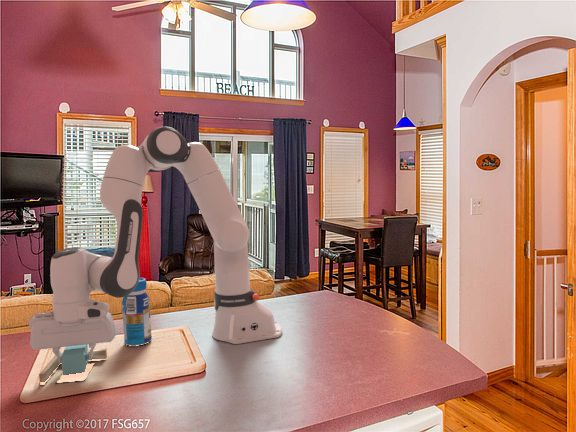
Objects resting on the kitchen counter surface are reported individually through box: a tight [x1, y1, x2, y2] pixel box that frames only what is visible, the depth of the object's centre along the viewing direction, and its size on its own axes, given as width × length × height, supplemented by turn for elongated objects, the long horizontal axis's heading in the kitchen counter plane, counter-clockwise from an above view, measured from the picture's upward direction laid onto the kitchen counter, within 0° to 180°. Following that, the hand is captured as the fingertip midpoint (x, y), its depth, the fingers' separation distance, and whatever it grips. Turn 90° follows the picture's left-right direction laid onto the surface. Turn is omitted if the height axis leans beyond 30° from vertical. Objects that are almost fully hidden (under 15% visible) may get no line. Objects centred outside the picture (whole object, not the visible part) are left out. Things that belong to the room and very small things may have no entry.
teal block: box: [61, 344, 89, 375], centre depth 117 cm, size 9×5×5 cm, turn 18°
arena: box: [38, 348, 108, 383], centre depth 118 cm, size 13×14×3 cm
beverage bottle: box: [121, 277, 153, 346], centre depth 137 cm, size 8×8×20 cm
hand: (75, 360), depth 117 cm, fingers closed on teal block, 5 cm apart
